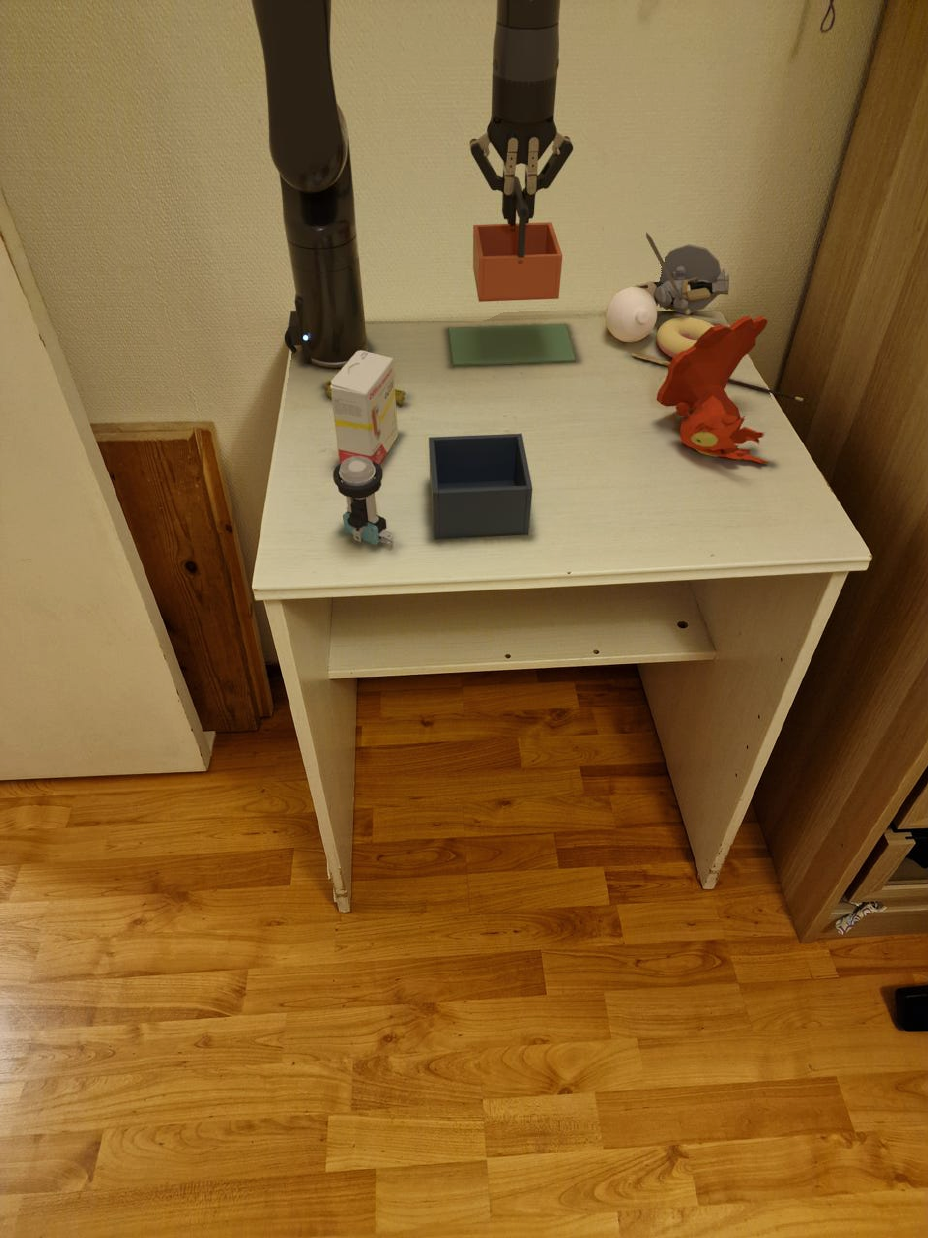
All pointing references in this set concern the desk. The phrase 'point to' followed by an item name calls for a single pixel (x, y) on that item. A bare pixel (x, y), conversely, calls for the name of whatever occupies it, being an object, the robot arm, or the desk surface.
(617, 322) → the spinning top
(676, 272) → the toy
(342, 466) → the push button
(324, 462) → the desk surface
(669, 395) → the toy
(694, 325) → the donut
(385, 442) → the ink box
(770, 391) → the brush
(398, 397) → the key
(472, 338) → the mat
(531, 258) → the box
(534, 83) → the robot arm
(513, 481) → the bottom basket
